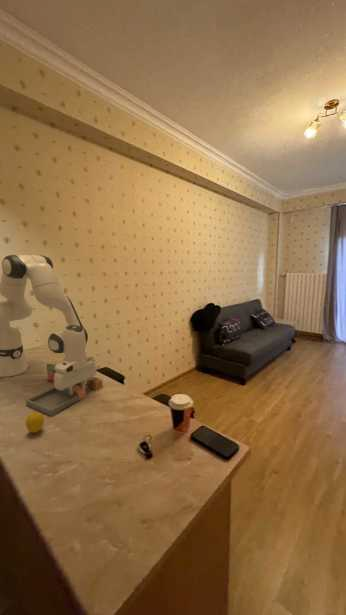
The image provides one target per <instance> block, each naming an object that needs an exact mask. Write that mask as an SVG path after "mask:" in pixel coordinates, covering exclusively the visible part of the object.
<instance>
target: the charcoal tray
mask: <svg viewBox="0 0 346 615" xmlns="http://www.w3.org/2000/svg"><path fill="white" fill-rule="evenodd" d="M78 402H80V399H79V395H76V394H73V395H70V394H69V392H68V391H65V390H62V391H60V390H57V389H56V388H55V386H54V387H51V388H50V389H48V390H46V391H43V392H41V393H39V394H37V395H34V396H31V397H30V398H28V399H26V400H25V404H26V407H29V408H31V409H34V410H35V411H36V412H39V413H41V414H44V415H47V416H49V417H50V418H51V417H53V416H56V415H57V414H58V413H60V412H62V411H64V410H65V409H68V408H70V407H71V406H73V405H75V404H77V403H78Z"/></svg>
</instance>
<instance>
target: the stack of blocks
mask: <svg viewBox="0 0 346 615" xmlns="http://www.w3.org/2000/svg"><path fill="white" fill-rule="evenodd" d="M86 358H89V357H87V356H86ZM64 359H65V358H63V359H62V360H60V359H53V360H51V361H49V362H48V363H46V372H47V374H46V375H47V381H49V382H54V376H55V373H56V372H57V371H56V370H55V366H56V365H57V364H59V363H60V362H62V361H63V360H64ZM91 378H92V377H91ZM88 379H90V378H88ZM88 379H87V380H88ZM81 384H82V382H79V383H77V384H76V385H79V386H80V385H81ZM86 385H87V382H86Z"/></svg>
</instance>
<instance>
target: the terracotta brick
mask: <svg viewBox="0 0 346 615" xmlns="http://www.w3.org/2000/svg"><path fill="white" fill-rule="evenodd" d="M71 389H72V390H74V391H75V392H74V394H76V395H79V400H81V399H84V398H85V397H86V396H87V395H86V394H87V393H86V387H85V388H83V387H80V385H79V384H75V386H73V387H72V388H71Z"/></svg>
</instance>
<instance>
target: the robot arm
mask: <svg viewBox="0 0 346 615" xmlns="http://www.w3.org/2000/svg"><path fill="white" fill-rule="evenodd" d="M1 268H2V273H1V277H0V295H1V296H2V297H3V298H5V299H6V300H5V301H0V378H1V377H2V378H5V377H13V376H17V375H20V374H23V373H25V372H27V370H28V368H29V367H30V363H28V360H27V355H26V353H25V352H24V346H23V344H22V343H23V342H22V333H21V331H20V329H17V328H15V327H12V326H11V325H10V322H13V321H14V322H15V321H20V320H24V319H26V318H29V317H30V316H31V315H32V313H33V306H32V304H31V303H30V301H29V300H26V297H25V293H26V292H25V291H26V286H27V283H28V282H27V281H28V279H29V280H30V284H31V287H32V291H33V295H34V298H35V299H36V301H37V302H38V303H39V304H41V305H42V306H44V307H50V308H53V309H56V310H58V311H60V312H61V313H62V314H63V316H64V318H65V320H66V323H67V324H68V325H67V326H66V327H65V328H64V329H61V330H58V331H55V332H53V333H51V334H50V335H49V336H48V341H47V343H48V344H47V345H48V348H49V350H50V351H51V352H53V353H54V354H64V358H63V359H64V360H63V359H62V362H60V363H59V364H57V365H56V366H55V370H56V371H57V372H56V373H55V376H54V381H53V386H54V387H55V388H56V389H57V390H60V391H62V390H64V389H66V388H67V389H68V390H69V394H70V395H73V394H74V392H75V391H74V390H72V389H71V388H72V386H73V385H78V384H77V383H79V382H82V384H81V385H80V384H79V386H80V387H83V388H85V389H86V385H87V384H86V382H87V379H88V378H91V377H96V374H97V367H96V363H95V362H96V361H95V358H94V357H93V356H89V357H88V358H86V357H87V352H86V347H87V342H88V339H89V333H88V332H87V330H86V328H85V327H84V326H83V324H82V322H81V320H80V317H79V316H78V313H77V311H76V309H75V306H74V304H73V303H72V300H71V299H70V297H69V296H67V295H65V293H64V292H63V290H62V289H61V287H60V284H59V283H60V282H59V280H58V278H57V277H58V276H56V273H55V270H54V263H53V261H52V260H51V258H50V257H48V256H46V255H42V254H40V255H37V254H17V255H16V254H11V255H7V256H5V257H4V258H3V259H2V262H1Z"/></svg>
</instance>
